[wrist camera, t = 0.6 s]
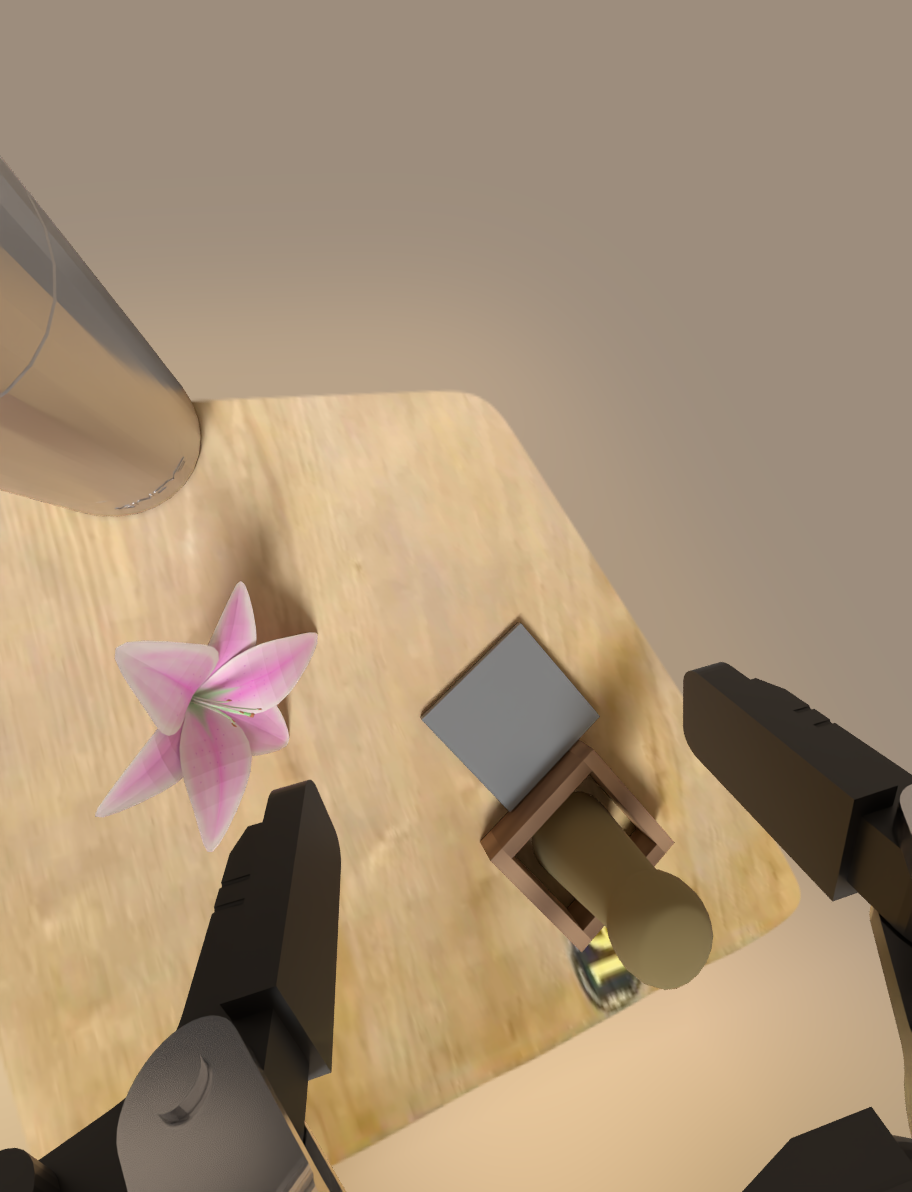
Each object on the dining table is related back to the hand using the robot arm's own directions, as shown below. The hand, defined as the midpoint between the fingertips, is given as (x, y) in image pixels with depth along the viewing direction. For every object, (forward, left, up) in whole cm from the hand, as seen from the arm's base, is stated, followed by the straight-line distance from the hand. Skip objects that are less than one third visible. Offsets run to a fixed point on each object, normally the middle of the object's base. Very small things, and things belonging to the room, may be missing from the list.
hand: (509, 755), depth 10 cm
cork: (+19, 0, -21) cm, 28 cm away
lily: (-4, -9, -21) cm, 23 cm away
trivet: (+9, +2, -20) cm, 23 cm away
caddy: (+19, 0, -20) cm, 28 cm away
